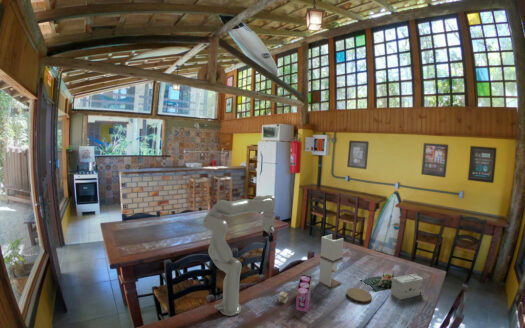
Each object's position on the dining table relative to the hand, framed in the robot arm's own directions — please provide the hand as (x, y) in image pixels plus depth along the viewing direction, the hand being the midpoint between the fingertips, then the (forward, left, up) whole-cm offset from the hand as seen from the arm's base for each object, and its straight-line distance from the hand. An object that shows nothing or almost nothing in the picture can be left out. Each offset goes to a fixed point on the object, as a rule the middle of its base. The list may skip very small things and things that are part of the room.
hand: (267, 238), depth 182 cm
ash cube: (+6, -14, -32) cm, 36 cm away
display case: (+48, -7, -36) cm, 61 cm away
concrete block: (+89, -37, -37) cm, 103 cm away
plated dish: (+89, -19, -37) cm, 98 cm away
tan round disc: (+56, -28, -37) cm, 73 cm away
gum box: (+18, -20, -37) cm, 45 cm away
